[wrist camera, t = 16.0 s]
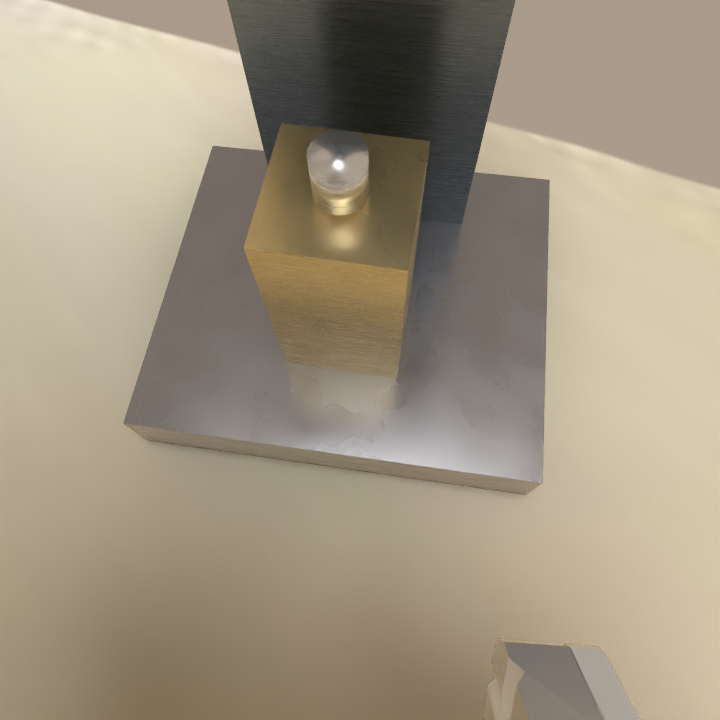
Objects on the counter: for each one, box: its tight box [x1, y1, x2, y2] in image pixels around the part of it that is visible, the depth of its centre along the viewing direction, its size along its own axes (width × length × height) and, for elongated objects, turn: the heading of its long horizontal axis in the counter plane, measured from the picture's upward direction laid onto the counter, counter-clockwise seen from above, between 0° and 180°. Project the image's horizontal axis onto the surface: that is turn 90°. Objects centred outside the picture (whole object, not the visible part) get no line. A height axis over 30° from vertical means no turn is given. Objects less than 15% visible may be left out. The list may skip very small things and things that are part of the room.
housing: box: [244, 123, 430, 379], centre depth 19 cm, size 4×4×10 cm
